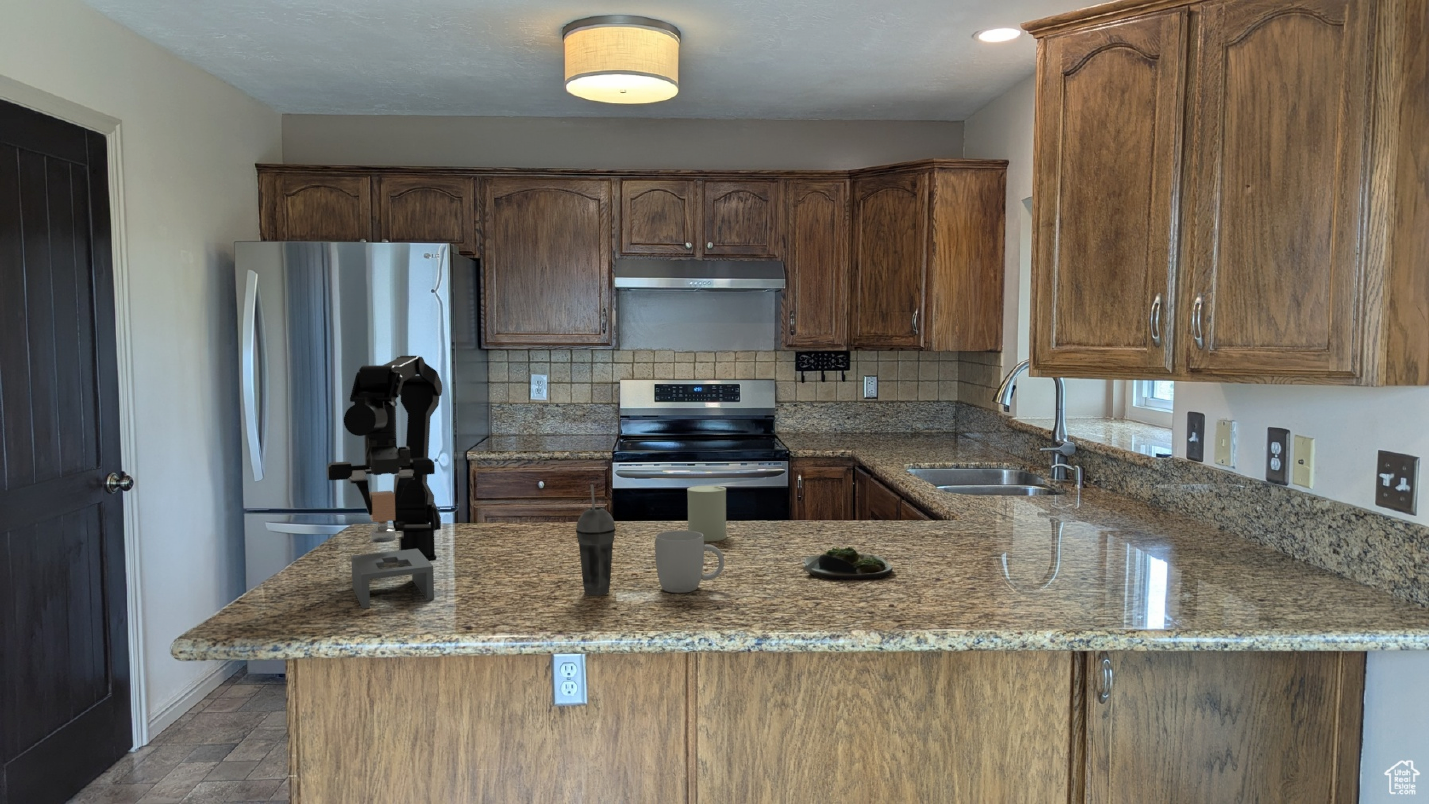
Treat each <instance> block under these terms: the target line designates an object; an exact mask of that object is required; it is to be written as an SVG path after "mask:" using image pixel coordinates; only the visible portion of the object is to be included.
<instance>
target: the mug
mask: <svg viewBox="0 0 1429 804" xmlns="http://www.w3.org/2000/svg"><path fill="white" fill-rule="evenodd" d="M654 539H655V540H654V551H655V552H654V554H655V556H654V557H655V566H656V572H657V578H658V581H659V585H660V586H661V589H662V590H663V591H664V592H668V593H675V594H685V593H691V592H695V591H697V589H698V588H699V585H700V582H701V581H702V580H703V581H710V580H714V579H716V578H717V577H719V576H720V574H721V573H722V572H723V571H724V567H725V557H724V554H723V553H722V551H721V549H719V548H718V547H716V546H715V545H713V544H709V543H708V544H707V543H706V544H705V542H704V536H703V534H702V533H700V532H695V531H688V530H667V531H664V532H663V531H662V532H658V533H657V534H655V538H654ZM705 551H709V552H712V553H714V554H715V555H716V557H717V559H718V565H717V568H716V569H715V570H714V571H711V573H704V574H703V569H704V561H705Z"/></svg>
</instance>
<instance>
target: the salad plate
mask: <svg viewBox="0 0 1429 804" xmlns="http://www.w3.org/2000/svg"><path fill="white" fill-rule="evenodd" d="M804 565H805V566H804V567H803V570H802V571H805V572H806V573H809V574H811V575H812V576H813V577H815V578H818V579H823V580H829V581H871V580H872V581H873V580H881V579H885V578H887V577H889V575H891V574H892V573H893V566H891V565H890V564H889V563H888V562H887V561H886V560H885V559H884V558H882V557H881V556H880V555H879V556H878V555H875V554H868V553H866V554H865V553H859V552H857V551H856V549H855V548H853V547H850V546H848V547H845V548H840V546H836V547H832V548H831V549H828V550H827V551H826V552H824V553H823V554H818V555H811V556H807V557H805V558H804Z"/></svg>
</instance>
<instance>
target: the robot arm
mask: <svg viewBox="0 0 1429 804" xmlns="http://www.w3.org/2000/svg"><path fill="white" fill-rule="evenodd" d="M442 394H443V383H442V381H441V378H440V376H439V373H438V370H436V369H435V368H433V367H431V366H430V365H429V364H427V363H426V361H425V360H424V357H423V356H419V355H400V356H397V357H396V358H395V359H394V360H391V361H389V362H386V363H385V364H383V365H382V364H381V365H380V364H379V365H376V364H375V365H362V366H361V367H359V369H358V371H357V373H356V374H355V379H354V381H353V386H352V389H351V394H350V397H349V401H350V403H354V404H353V405H351V406H349V408H348V409H346V411H345V413H344V416H343V423H344V428H346V431H347V432H349V433H350V434H351V435H354V436H357V437H364V438H363V439H364V464H355V465H353V464H352V463H351V462H350V461H334V462H332V461H331V462H329V463H328V464H327V465H326V478H327V479H328V481H340V480H341V481H342V480H348V482H349V483H351V484H355V485H356V487H357V488H358V491H359V492H360V495H361V497H362V500H363V502H364V505H365V507H366V510H367V513H368V515H369V516H370V515H372V508H371V501H370V494H369V492H370V490H369V489H370V488H369V480H368V479H367V478H366V476H367V475H374V476H382V475H388V474H391V475H394V477H393V478H394V479H393V491H392V492H393V493H394V494H395V520H394V521H392V525H393V528H395V533H396V532H401V533H400V534H401V536H399V537H398V551H400V550H409V549H419V551H420V552H421V553H422V554H423V555H424V556H425V557H426V559H427V560H428V561H429V560H436V559H438V558H437V555H436V554H435V553H436V552H435V548H436V547H435V532H436V531H437V530H438V531H439V530H441V529H442V525H441V524H442V521H441V520H442V519H441V518H442V516H441V515H440V512H439V509H438V508H437V505H436V503H435V494H434V493H433V491H432V490H431V489H430V486H429V485H428V475H435V474H436V473H435V470H436V469H435V467H436V466H435V462H434V460H432V459H431V458H429V449H430V432H431V430H430V429H431V417H432V415H433V414H434V413H435V411H436V409H438V407H439V404H440V397H441V396H442ZM399 397H400V402H401V404H402V406H403V408H404V410H405V412H406V413H407V420H406V421H407V423H406V440H405V441H406V442H405V443H406V444H405V446H397V445H398V443H397V440H398V439H397V436H398V435H397V406H398V402H397V398H399Z"/></svg>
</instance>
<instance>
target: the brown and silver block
mask: <svg viewBox="0 0 1429 804" xmlns="http://www.w3.org/2000/svg"><path fill="white" fill-rule="evenodd" d="M393 492H394V491H392V490H382V491H381V490H380V491H369V494H370V501H371V508H372V515H369V519H370V521H371V522H372V523H377V527H376V528H373V529H371V530H370V542H371V543H378V544H379V543H389V542H393V541H394V542H395V541H396V532H395V528H394V527H389V526H388V525H389V524H388V522H393V521H394V520H395V494H394V493H393Z"/></svg>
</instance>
